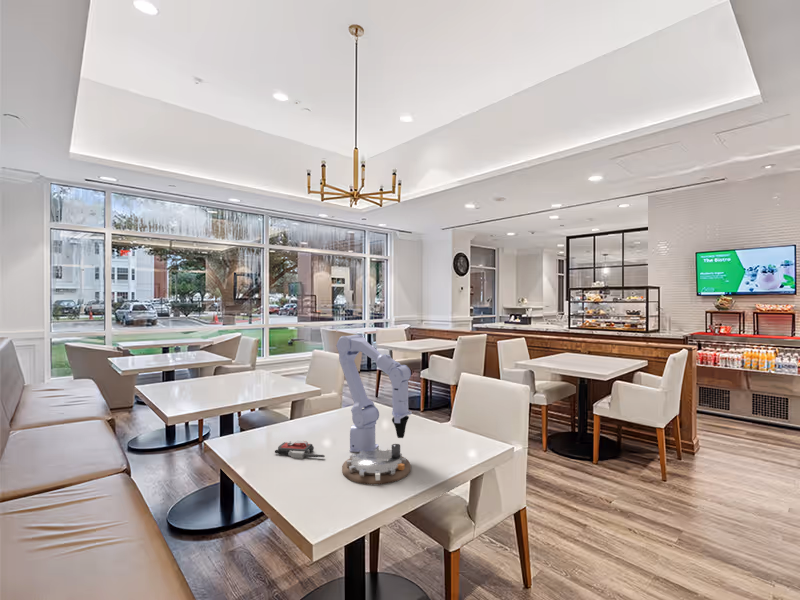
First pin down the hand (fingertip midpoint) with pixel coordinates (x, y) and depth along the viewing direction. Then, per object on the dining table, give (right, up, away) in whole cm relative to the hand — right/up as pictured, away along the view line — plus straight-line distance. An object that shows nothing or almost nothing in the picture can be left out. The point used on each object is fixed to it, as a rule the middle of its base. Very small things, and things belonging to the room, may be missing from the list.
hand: (400, 437), depth 144 cm
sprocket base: (-8, -7, -9) cm, 14 cm away
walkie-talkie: (-37, -8, +4) cm, 38 cm away
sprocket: (-8, -6, -9) cm, 14 cm away
